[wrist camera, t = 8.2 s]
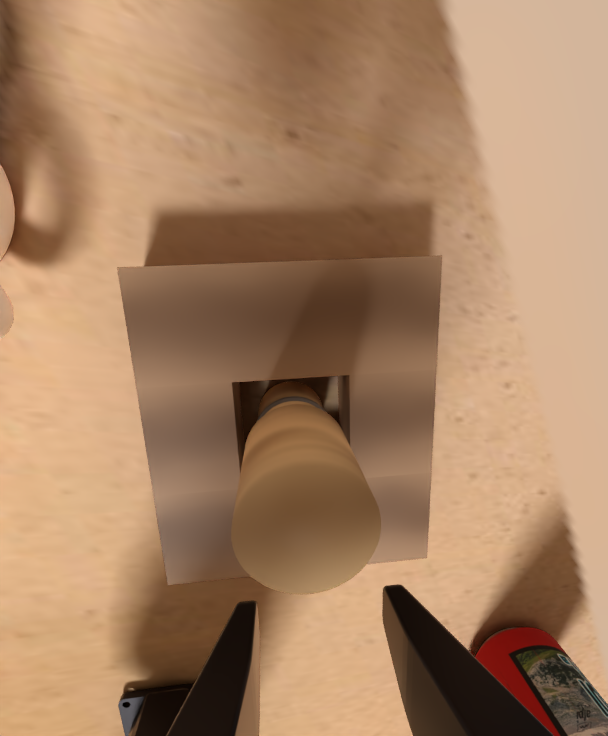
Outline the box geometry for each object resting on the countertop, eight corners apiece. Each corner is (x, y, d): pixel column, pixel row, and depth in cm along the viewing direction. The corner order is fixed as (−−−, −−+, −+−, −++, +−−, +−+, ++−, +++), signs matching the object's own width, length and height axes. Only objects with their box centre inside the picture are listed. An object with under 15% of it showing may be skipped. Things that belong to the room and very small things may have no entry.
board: (406, 522, 22) (427, 558, 19) (181, 544, 21) (167, 585, 18) (415, 260, 19) (442, 255, 16) (142, 270, 18) (117, 267, 15)
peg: (329, 444, 21) (380, 586, 11) (254, 450, 20) (237, 601, 11) (328, 372, 20) (381, 457, 10) (248, 376, 19) (223, 470, 10)
